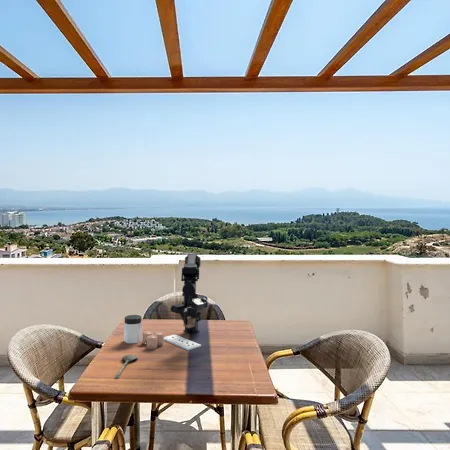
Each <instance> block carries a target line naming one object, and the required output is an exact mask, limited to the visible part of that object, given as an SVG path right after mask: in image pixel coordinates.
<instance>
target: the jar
mask: <svg viewBox="0 0 450 450" xmlns="http://www.w3.org/2000/svg"><path fill="white" fill-rule="evenodd" d="M142 333H143V321H142V316H141V315H138V314H129V315H126V316H124V322H123V341H124V343H126V344H128V345H129V344H130V345H131V344H138V343H140V342H142Z"/></svg>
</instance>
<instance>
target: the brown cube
mask: <svg viewBox="0 0 450 450" xmlns="http://www.w3.org/2000/svg"><path fill="white" fill-rule="evenodd" d="M183 327H184V328H185V327H187V328H191V327H195V318H194V317H191V316H190V317H187V325H185V324H184V323H183Z"/></svg>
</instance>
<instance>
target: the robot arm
mask: <svg viewBox="0 0 450 450" xmlns="http://www.w3.org/2000/svg"><path fill="white" fill-rule="evenodd" d="M201 262H202V261H201V257H200V256H198V254H197V253H187V255H186V256H185V257H184V264H183V267H182V269H181V282H183V286H182V293H181V296H182V297H183V301H182V302H181V304H178V303H177V304H172V305H171V306H170V312H172V313H175V314H179V316H180V317H181V319H182V322H183V325H184V324H185V325H187V317H190V316H191V317H194V318H195V327H191V328H187V327H184V330H183V332H184V333H186V334H189V335H192V334H193V335H194V334H196V333H200V330H199V329H198V327H199V322H200V321H201V320H202V316H201V315H202V313H201V311H202V310H203V309H206V308H208V304H209V303H208V301H207V298H205V297H203V298H199V296H198V293H197V282H198V281H199V280H200V268H201Z"/></svg>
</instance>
